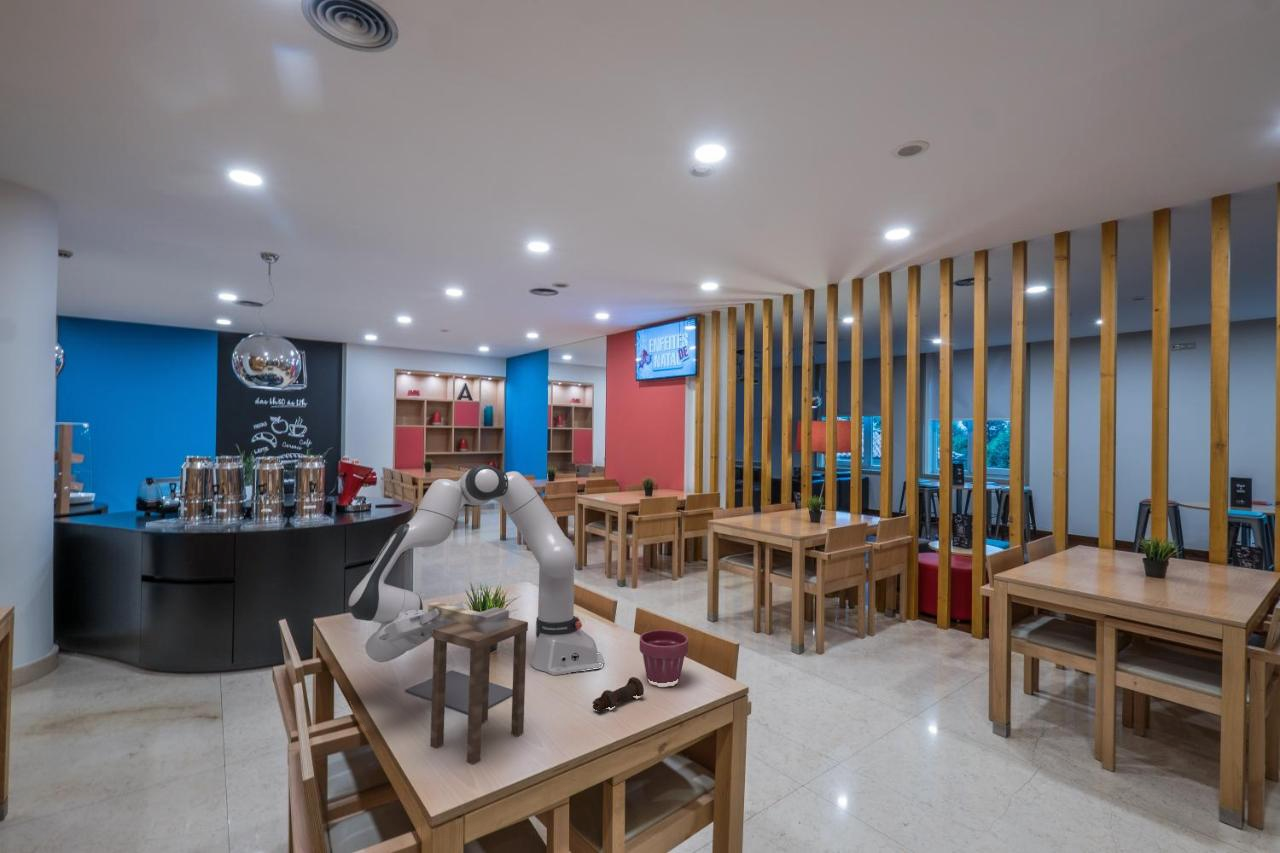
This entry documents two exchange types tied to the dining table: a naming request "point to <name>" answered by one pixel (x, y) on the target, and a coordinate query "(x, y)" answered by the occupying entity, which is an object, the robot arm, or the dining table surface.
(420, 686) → the mat
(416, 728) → the dining table surface
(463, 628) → the stool
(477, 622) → the hammer
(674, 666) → the plant pot
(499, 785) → the dining table surface
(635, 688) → the bolt
